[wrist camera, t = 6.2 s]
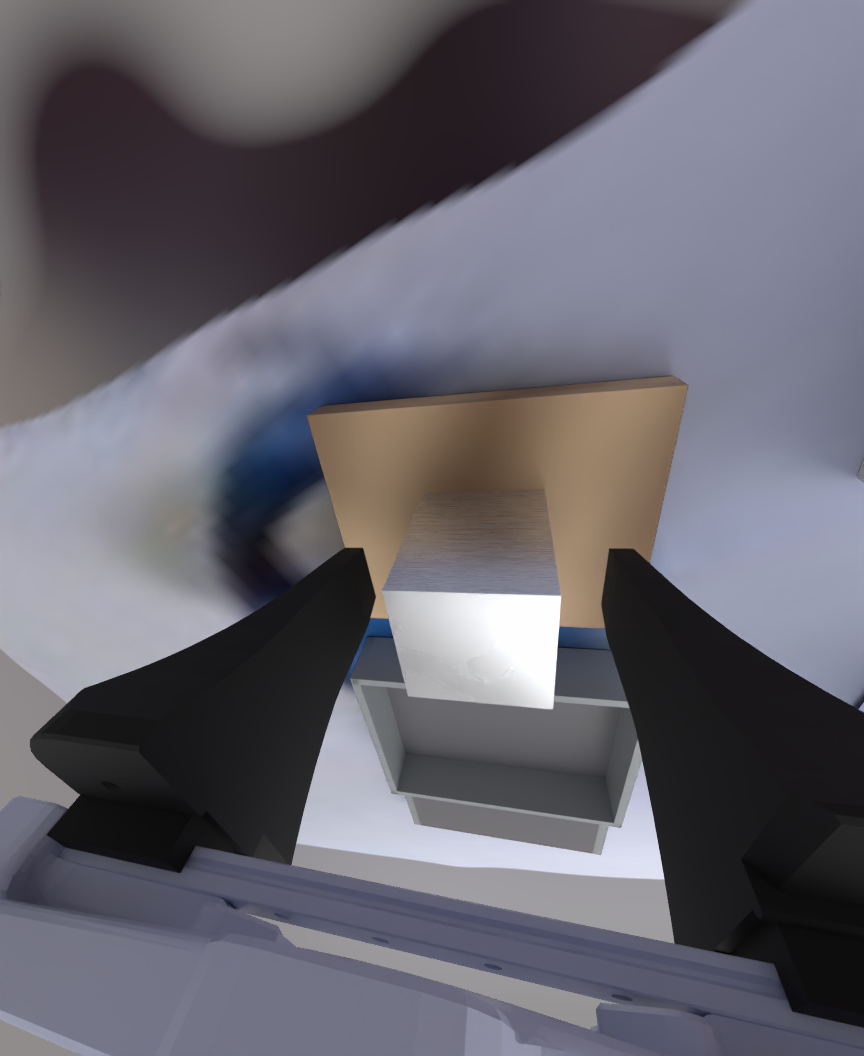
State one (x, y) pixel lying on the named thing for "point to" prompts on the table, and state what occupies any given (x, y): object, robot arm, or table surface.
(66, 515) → the table surface
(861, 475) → the ink cartridge box
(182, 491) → the table surface
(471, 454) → the brown wooden board
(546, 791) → the case
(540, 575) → the block
